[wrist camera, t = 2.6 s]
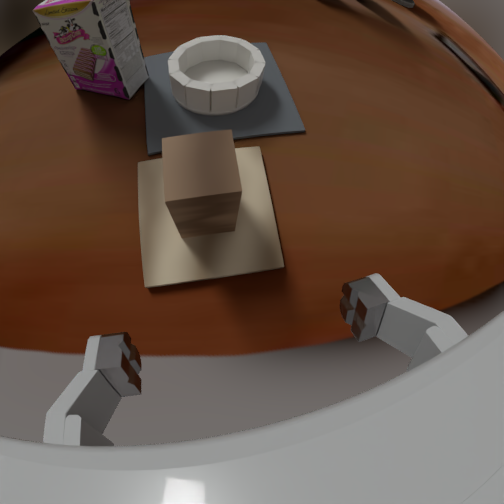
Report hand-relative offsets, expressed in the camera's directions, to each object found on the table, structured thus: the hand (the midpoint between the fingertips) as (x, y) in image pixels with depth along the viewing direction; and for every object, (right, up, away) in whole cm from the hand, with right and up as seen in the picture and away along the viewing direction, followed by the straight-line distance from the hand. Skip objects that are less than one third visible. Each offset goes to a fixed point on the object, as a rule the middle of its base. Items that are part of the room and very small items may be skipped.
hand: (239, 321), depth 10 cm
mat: (-4, +23, +22) cm, 32 cm away
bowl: (-4, +23, +21) cm, 32 cm away
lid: (-4, +6, +18) cm, 20 cm away
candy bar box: (-19, +25, +20) cm, 38 cm away
